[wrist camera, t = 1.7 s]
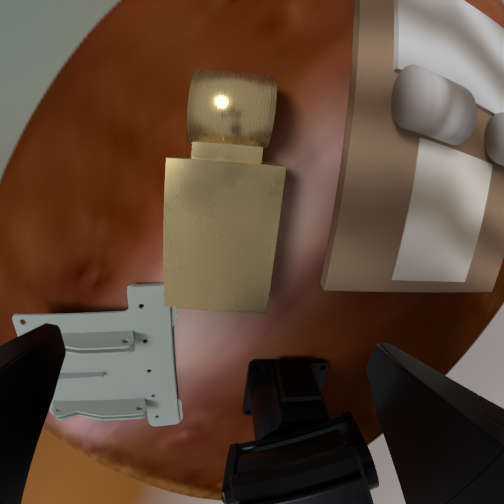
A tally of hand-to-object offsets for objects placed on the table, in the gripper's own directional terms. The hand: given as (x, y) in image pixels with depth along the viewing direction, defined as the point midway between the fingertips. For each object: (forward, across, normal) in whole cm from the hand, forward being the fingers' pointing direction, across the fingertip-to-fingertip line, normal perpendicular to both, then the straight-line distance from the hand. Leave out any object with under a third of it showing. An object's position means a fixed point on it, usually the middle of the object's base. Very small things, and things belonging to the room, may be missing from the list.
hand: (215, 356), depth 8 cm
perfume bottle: (+12, 0, -2) cm, 12 cm away
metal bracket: (+13, +9, +12) cm, 19 cm away
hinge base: (+12, -16, -8) cm, 22 cm away
